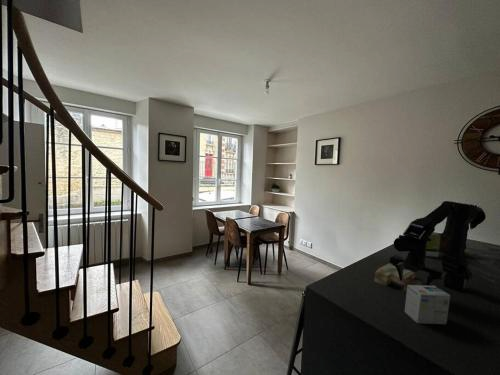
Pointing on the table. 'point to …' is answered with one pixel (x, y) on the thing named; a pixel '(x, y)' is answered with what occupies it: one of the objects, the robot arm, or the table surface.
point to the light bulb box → (427, 304)
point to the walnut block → (411, 282)
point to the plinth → (395, 274)
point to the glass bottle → (446, 235)
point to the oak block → (383, 277)
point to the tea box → (433, 245)
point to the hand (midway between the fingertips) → (413, 284)
